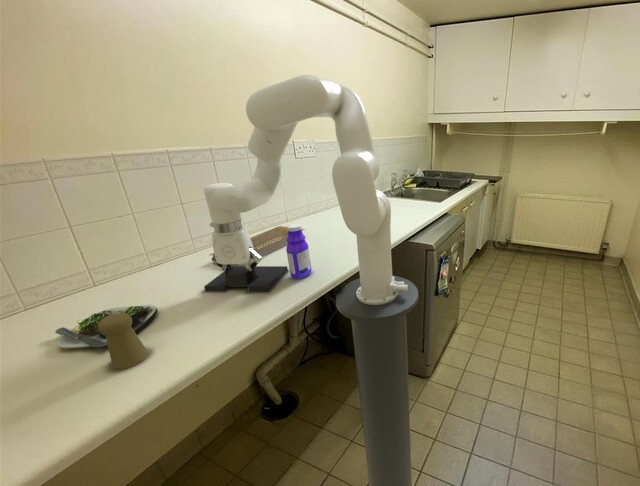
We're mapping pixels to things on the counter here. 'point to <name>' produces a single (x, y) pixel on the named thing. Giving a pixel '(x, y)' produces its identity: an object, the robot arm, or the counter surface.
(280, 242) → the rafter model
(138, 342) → the cork
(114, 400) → the counter surface
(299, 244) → the bottle
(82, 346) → the salad plate
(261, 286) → the base pad
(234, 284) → the black square block
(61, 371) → the counter surface
